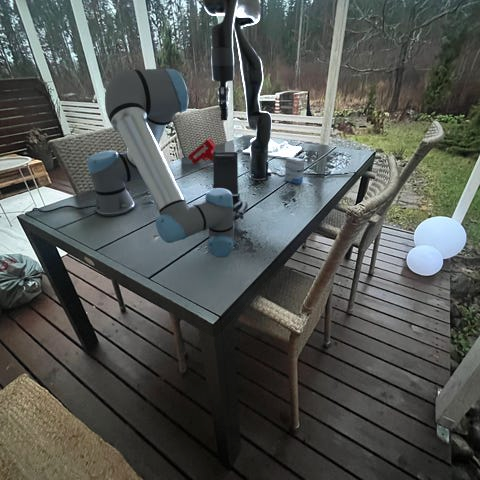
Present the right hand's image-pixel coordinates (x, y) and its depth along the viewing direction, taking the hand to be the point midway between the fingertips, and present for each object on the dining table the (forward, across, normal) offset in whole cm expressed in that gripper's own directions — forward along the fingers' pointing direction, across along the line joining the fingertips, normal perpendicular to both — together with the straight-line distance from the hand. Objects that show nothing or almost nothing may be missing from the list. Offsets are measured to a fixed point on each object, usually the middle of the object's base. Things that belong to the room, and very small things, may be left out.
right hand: (224, 118), depth 99 cm
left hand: (+29, +6, 0) cm, 29 cm away
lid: (+19, +6, 0) cm, 20 cm away
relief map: (+36, -90, +29) cm, 101 cm away
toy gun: (+35, -61, -16) cm, 73 cm away
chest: (+35, +2, 0) cm, 35 cm away
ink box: (+35, -30, +34) cm, 57 cm away
